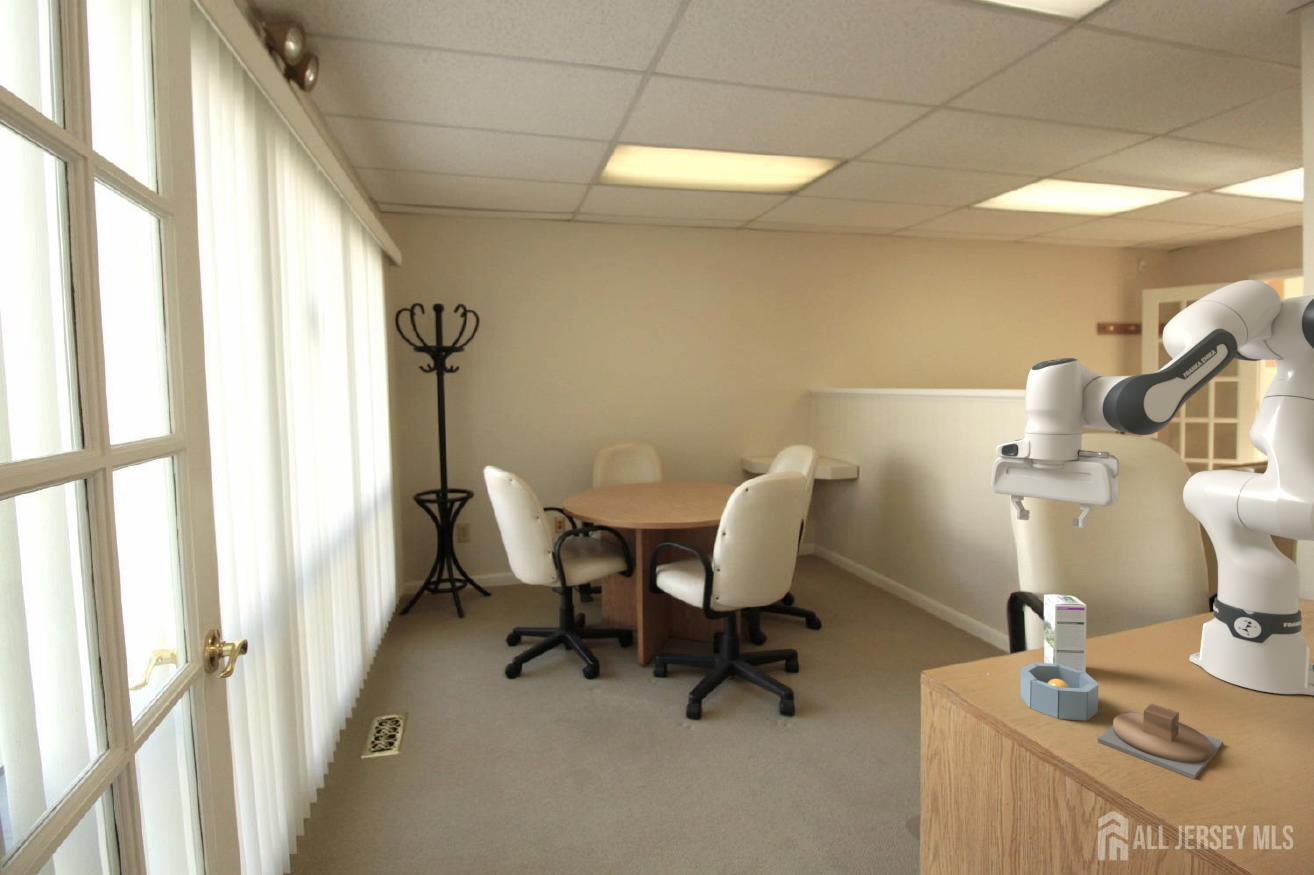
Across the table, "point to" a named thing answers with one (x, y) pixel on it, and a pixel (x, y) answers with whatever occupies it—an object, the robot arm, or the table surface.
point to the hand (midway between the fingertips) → (1050, 523)
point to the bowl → (1059, 691)
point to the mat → (1181, 767)
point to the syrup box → (1065, 631)
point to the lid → (1162, 735)
